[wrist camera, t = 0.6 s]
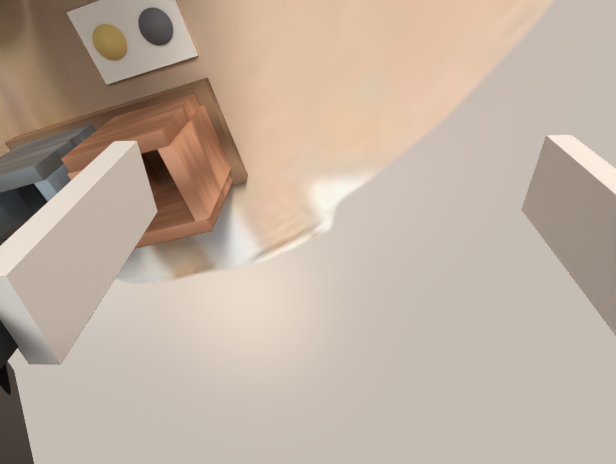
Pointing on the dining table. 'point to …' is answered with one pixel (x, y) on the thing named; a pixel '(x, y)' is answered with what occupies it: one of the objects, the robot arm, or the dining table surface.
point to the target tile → (132, 36)
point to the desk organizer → (155, 154)
